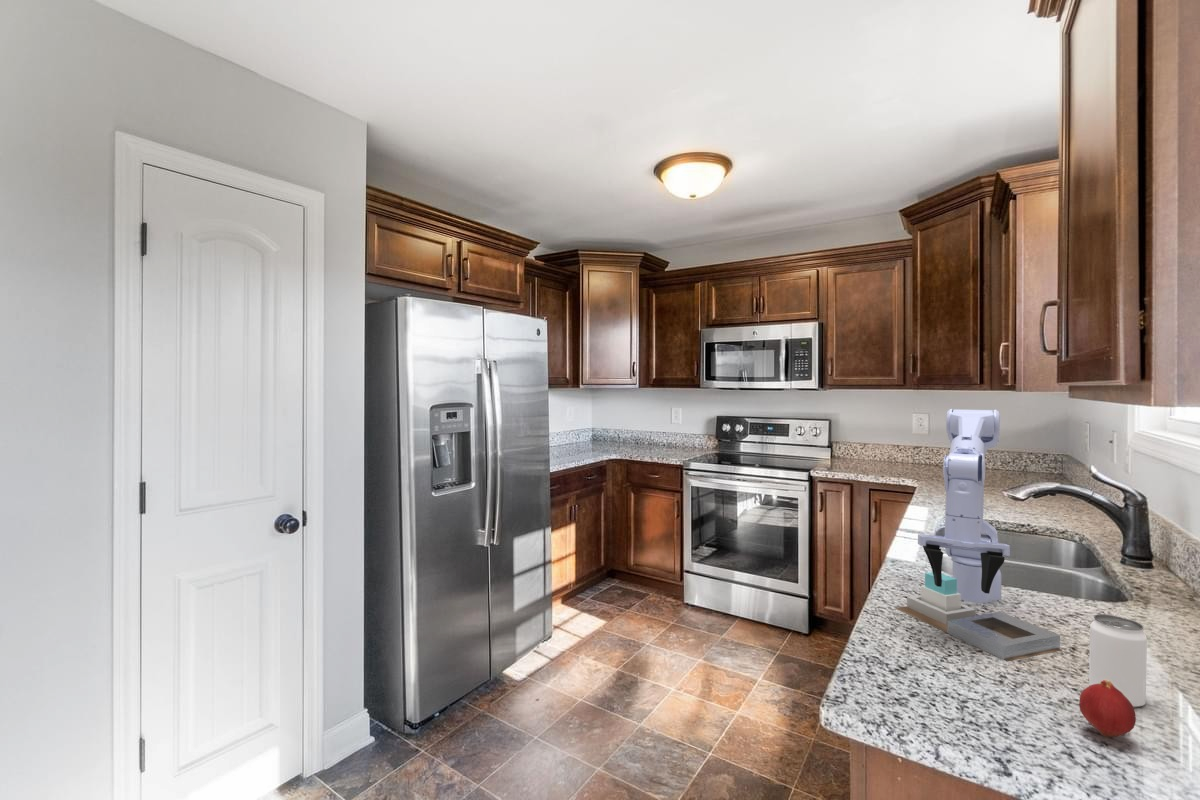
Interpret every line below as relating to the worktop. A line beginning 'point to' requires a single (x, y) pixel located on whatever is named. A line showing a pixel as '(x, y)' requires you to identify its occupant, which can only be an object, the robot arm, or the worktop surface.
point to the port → (983, 637)
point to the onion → (1107, 709)
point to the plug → (941, 593)
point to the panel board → (944, 628)
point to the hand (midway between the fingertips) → (961, 588)
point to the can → (1119, 656)
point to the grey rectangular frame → (938, 610)
